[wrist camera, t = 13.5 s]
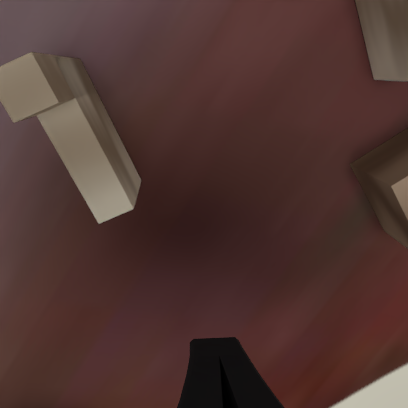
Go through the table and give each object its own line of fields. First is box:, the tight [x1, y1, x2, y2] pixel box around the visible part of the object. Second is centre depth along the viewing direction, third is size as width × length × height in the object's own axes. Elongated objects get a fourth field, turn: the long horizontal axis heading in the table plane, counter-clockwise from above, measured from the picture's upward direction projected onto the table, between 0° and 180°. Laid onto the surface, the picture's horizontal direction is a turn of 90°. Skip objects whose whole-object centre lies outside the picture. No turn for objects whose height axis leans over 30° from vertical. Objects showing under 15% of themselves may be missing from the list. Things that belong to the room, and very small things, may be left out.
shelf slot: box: [0, 0, 408, 224], centre depth 14 cm, size 6×15×6 cm, turn 113°
